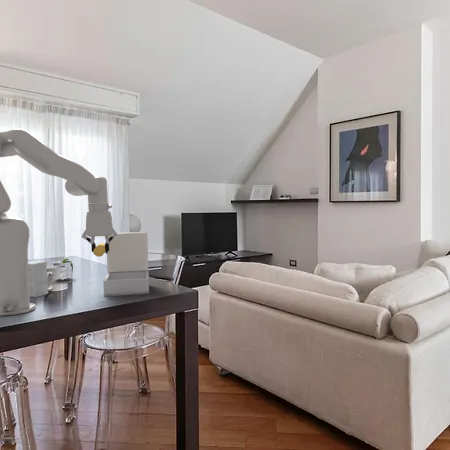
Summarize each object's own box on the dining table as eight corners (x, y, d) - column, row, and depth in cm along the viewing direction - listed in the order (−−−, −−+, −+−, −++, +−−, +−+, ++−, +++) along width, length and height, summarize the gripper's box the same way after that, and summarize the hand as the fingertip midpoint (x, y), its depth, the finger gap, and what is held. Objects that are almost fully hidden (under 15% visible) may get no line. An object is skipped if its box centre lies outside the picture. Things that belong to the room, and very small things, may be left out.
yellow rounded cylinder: (104, 256, 151) (104, 246, 151) (93, 256, 151) (93, 246, 150) (106, 252, 163) (106, 243, 163) (96, 252, 162) (96, 243, 162)
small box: (48, 294, 156) (47, 261, 155) (35, 297, 150) (33, 264, 149) (34, 292, 159) (32, 260, 158) (20, 295, 153) (18, 263, 152)
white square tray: (149, 293, 153) (148, 278, 152) (104, 296, 149) (103, 280, 149) (148, 285, 169) (148, 271, 169) (108, 287, 166) (107, 273, 166)
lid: (147, 232, 166) (147, 231, 168) (105, 233, 162) (106, 232, 164) (148, 272, 169) (148, 270, 171) (107, 274, 166) (108, 272, 168)
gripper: (120, 207, 161) (122, 251, 162) (77, 208, 157) (80, 253, 159) (119, 207, 154) (121, 253, 155) (74, 208, 150) (77, 256, 151)
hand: (100, 253), depth 157 cm, fingers closed on yellow rounded cylinder, 3 cm apart
